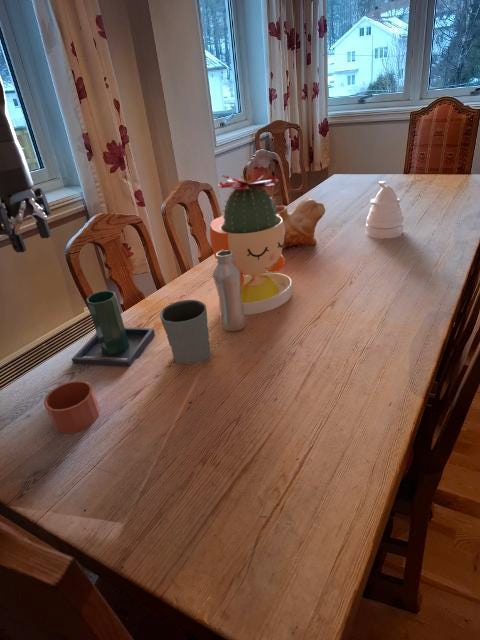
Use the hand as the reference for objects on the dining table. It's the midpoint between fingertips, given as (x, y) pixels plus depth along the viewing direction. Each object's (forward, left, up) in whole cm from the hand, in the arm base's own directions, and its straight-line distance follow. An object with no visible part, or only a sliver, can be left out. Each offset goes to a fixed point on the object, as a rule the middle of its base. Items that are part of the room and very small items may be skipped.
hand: (34, 244), depth 92 cm
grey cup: (+31, +1, -28) cm, 42 cm away
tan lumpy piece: (+45, +75, -28) cm, 92 cm away
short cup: (+15, -22, -28) cm, 39 cm away
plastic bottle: (+38, +14, -28) cm, 49 cm away
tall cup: (+11, +2, -28) cm, 30 cm away
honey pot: (+78, +84, -28) cm, 118 cm away
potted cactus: (+39, +32, -28) cm, 58 cm away
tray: (+11, +2, -28) cm, 30 cm away
